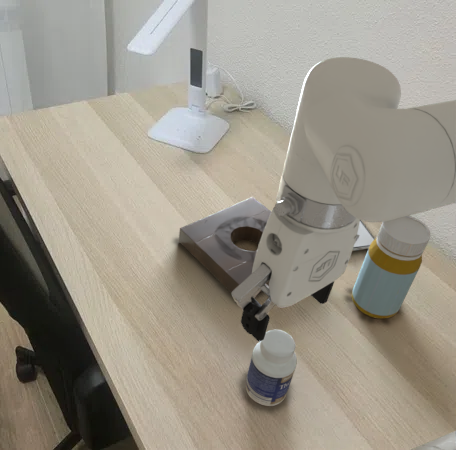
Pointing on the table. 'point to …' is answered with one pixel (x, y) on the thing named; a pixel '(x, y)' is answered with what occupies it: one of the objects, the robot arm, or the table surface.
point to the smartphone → (363, 238)
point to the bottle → (390, 267)
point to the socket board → (227, 240)
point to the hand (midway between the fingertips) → (284, 313)
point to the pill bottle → (271, 368)
